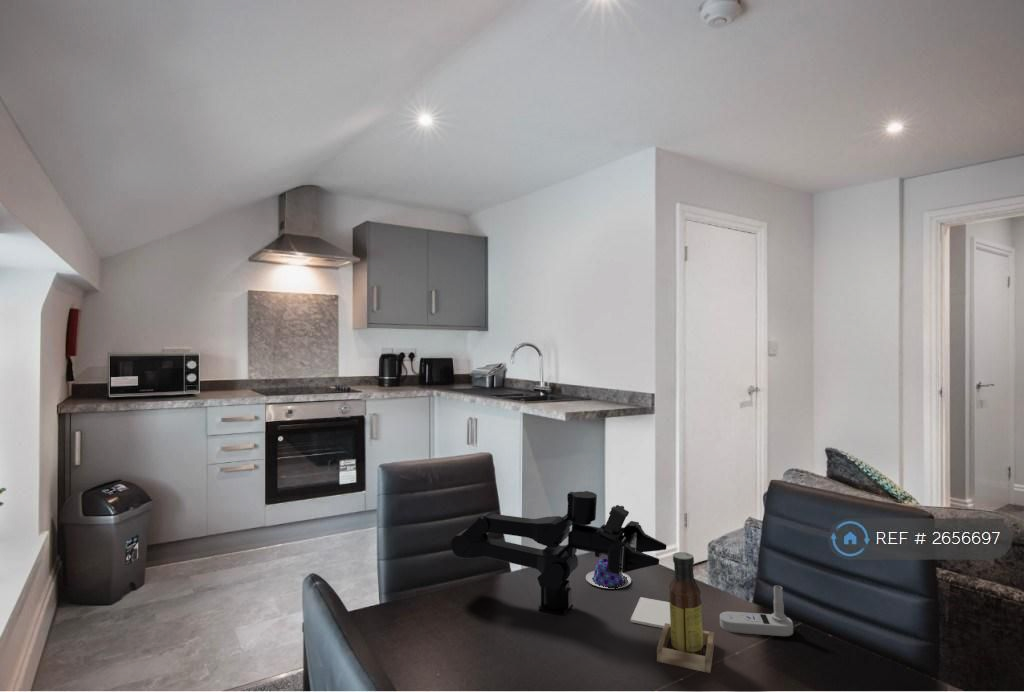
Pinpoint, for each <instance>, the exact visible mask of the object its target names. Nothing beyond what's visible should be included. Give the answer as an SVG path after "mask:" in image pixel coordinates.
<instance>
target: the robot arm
mask: <svg viewBox="0 0 1024 692" xmlns="http://www.w3.org/2000/svg"><path fill="white" fill-rule="evenodd" d="M597 497H598V495H597V494H596V493H595V492H592V491H588V490H585V491H570V492H569V493H567V511H566V512H567V513H566V514H565V515H564V516H560V515H556V516H555V515H554V516H543V517H538V518H529V517H522V516H514V515H507V514H506V515H505V514H498V513H493V512H490V511H489V512H486V513H484V514H483V515H481V516H479V517H478V518H477V519H476V521H474V522H473V524H471V525H470V526H469V527H468V528H466V529H464V530H463V531H461V532H460V533H458V534H456V535H455V536H454V537H453V538H452V539H451V542H450V548H451V550H452V552H453V553H452V554H454V557H456V558H459V559H468V560H469V559H478V558H487V559H488V558H489V559H491V560H492V559H493V560H497V561H501V562H505V563H508V564H514V565H519V566H521V567H527V568H532V569H535V570H537V571H538V572H539V573H540V575H538V576H537V582H538V584H539V587H540V604H539V606H538V611H543V612H546V613H551V614H557V615H562V616H564V615H565V614H567V611H568V610H569V609H570V608H571V606H572V605H573V604H572V600H573V599H572V598H573V597H572V596H573V595H572V593H573V592H572V587H570V580H568V579H569V578H570V576H571V575H572V574H573V573H574V572H575V571H576V570H577V568H578V565H579V559H578V557H577V554H576V553H577V550H579V551H583V552H584V551H585V552H588V553H593V554H594V557H595V558H600V557H601V556H606V557H607V558H608V560H607V569H608V570H609V572H610V573H611V574H615V575H620V574H621V572H622V573H625V574H626V573H628V572H632V571H635V570H639V569H644V568H649V567H653V566H657V565H659V564H660V558H658V557H655V556H654V555H650V554H647V553H648V552H649V553H650V552H658V551H659V552H660V551H665V550H667V544H666V543H664V542H662V541H659V540H658V539H657V538H655V537H653V536H650V535H649V534H647V533H645V531H644V529H643V528H642V525H641V524H640V522H639V521H633V520H630V521H628V522H627V523H626V525H625V526H623V525H624V522H625V521H626V518H627V517H628V516H629V514H630V511H628V510H627V509H625V506H624V505H619V504H617V505H613V506H612V507H611V508H610V509H611V510H610V511H609V516H608V519H607V521H606V523H605V524H602V525H601V526H600V527H597V526H593V525H591V524H592V522H594V521H596V519H597V518H596V516H597V501H598V500H597V499H598V498H597ZM489 533H493V534H494V533H495V534H500V535H501V534H502V535H509V536H515V537H519V538H520V537H521V538H527V539H530V540H533V541H534V542H536V543H537V544H539V545H542V546H545V548H543V549H542V548H541V549H540V548H537V547H532V546H528V545H523V544H518V543H514V542H510V541H504V540H499V539H495V538H492V537H490V536H489V535H488V534H489ZM566 539H567V544H564V545H563V544H562V543H563V541H564V540H566ZM561 544H562V545H561Z"/></svg>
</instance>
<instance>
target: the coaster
mask: <svg viewBox="0 0 1024 692" xmlns="http://www.w3.org/2000/svg"><path fill="white" fill-rule="evenodd" d="M630 623H633V624H634V623H635V624H639V625H644V626H649V627H653V628H659V629H663V628H664V625H665V623H667V624H671V622H670V601H664V600H659V599H652V598H647V597H642V596H640V598H639V599H638V602H637V604H636V606H635V609H634V610H633V613H632V615H631V617H630Z"/></svg>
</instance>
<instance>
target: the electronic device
mask: <svg viewBox="0 0 1024 692" xmlns="http://www.w3.org/2000/svg"><path fill="white" fill-rule="evenodd" d="M783 593H784V592H783V587H782V586H781V585H774V586H773V601H772V603H773V612H772V613H760V612H759V613H758V612H757V613H756V612H741V611H729V610H728V611H723V612H720V614H719V625H720V628H721V629H723V630H724V631H727V632H731V633H737V634H747V635H761V636H776V637H790V636H793V634H794V622H793V620H792V619H791V618H790V617H787V615H786V614H785V607H784V605H785V603H784V595H783Z"/></svg>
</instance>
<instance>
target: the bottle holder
mask: <svg viewBox="0 0 1024 692" xmlns="http://www.w3.org/2000/svg"><path fill="white" fill-rule="evenodd" d="M669 639H671V624H667V623H665V625H664V628H662V631H661V634H660V638H659V640H658V644H657V647H656V662H658V663H662V664H663V663H664V664H668V665H671V666H676V667H681V668H684V669H685V668H686V669H688V670H689V669H690V670H694V671H698V672H704V673H708V674H711V671H712V663H713V657H714V656H713V655H714V649H715V648H714V647H715V632H714V631H710V630H709V631H707V630H703V646H706V650H705V655H703V654H702V655H697V654H692V653H687V652H683V651H678V650H673V648H667V647H668V644H669Z"/></svg>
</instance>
